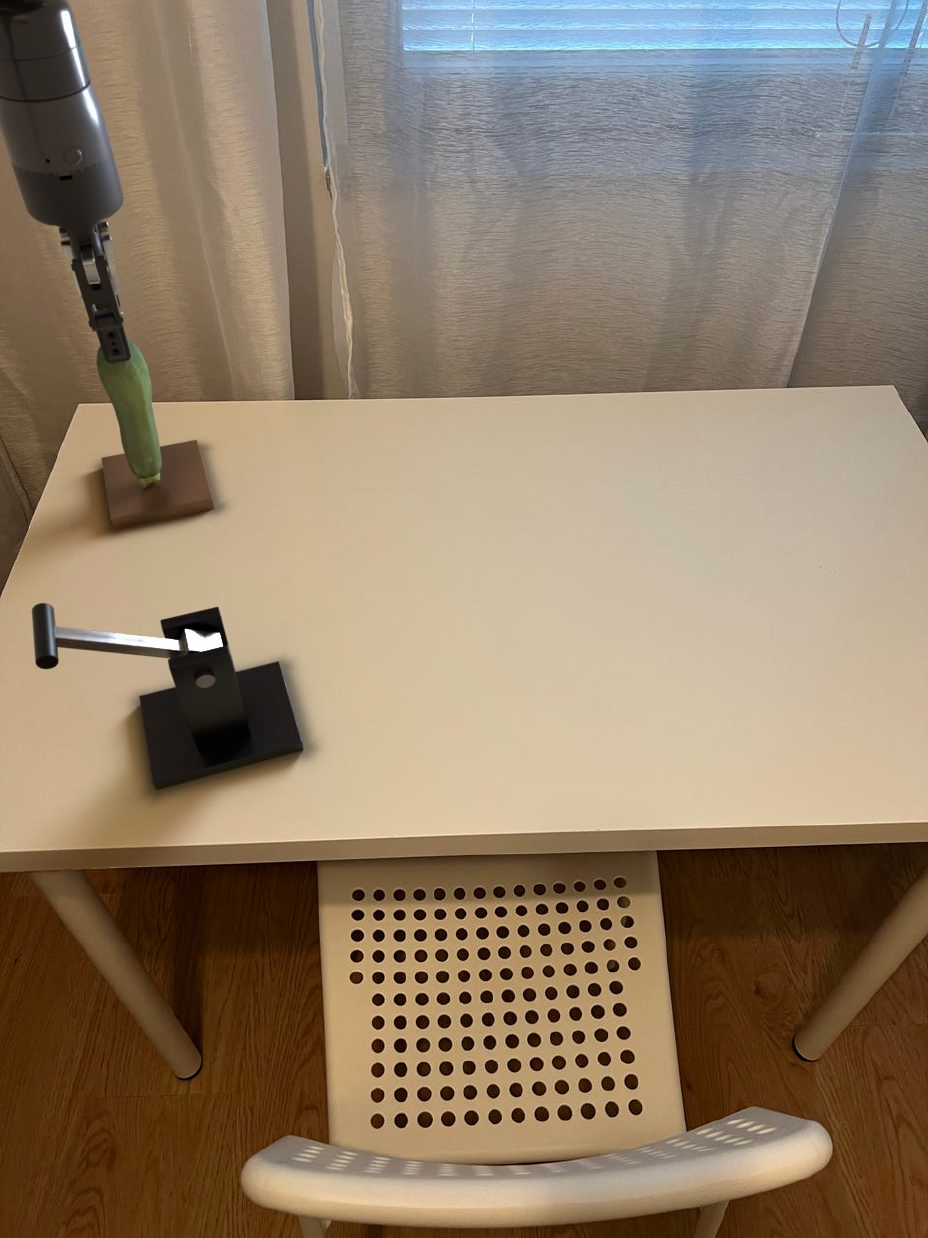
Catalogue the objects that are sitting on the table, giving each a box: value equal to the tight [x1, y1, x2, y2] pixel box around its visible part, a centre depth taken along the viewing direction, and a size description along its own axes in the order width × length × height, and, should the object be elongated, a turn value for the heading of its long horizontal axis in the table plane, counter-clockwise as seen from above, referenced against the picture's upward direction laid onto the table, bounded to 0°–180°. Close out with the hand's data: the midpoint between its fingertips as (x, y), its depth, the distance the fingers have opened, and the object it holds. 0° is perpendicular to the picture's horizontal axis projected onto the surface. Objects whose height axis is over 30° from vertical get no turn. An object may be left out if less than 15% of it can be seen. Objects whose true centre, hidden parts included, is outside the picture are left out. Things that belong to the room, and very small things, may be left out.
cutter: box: [138, 606, 305, 791], centre depth 74 cm, size 12×9×12 cm
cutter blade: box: [31, 602, 223, 670], centre depth 68 cm, size 13×5×2 cm
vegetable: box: [95, 309, 162, 488], centre depth 89 cm, size 4×4×20 cm
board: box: [101, 439, 216, 530], centre depth 98 cm, size 10×10×2 cm
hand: (113, 333), depth 84 cm, fingers open, 8 cm apart
